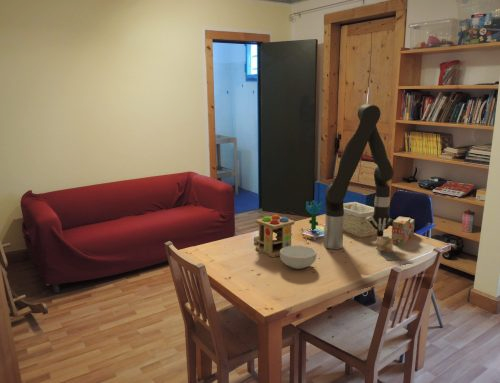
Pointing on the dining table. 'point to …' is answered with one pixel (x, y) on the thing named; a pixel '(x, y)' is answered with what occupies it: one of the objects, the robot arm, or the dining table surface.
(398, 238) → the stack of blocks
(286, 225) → the pounding bench toy
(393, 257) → the mat
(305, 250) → the cereal bowl
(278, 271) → the dining table surface
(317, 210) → the toy flower
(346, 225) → the storage basket
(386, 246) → the cube
